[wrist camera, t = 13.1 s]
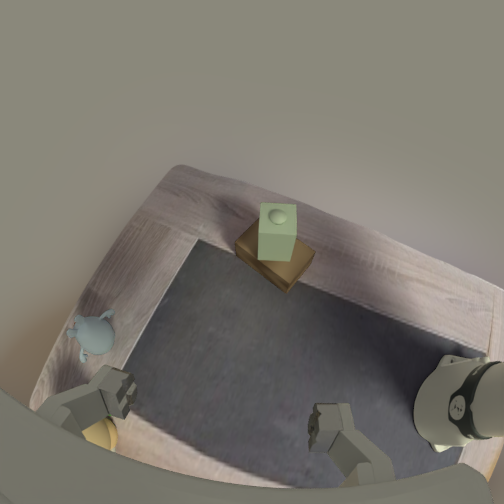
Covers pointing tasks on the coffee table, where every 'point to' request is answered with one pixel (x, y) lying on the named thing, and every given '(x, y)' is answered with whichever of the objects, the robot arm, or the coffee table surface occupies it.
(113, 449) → the kitten
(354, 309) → the coffee table surface
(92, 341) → the toy figure
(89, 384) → the robot arm
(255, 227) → the base brick
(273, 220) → the green brick
